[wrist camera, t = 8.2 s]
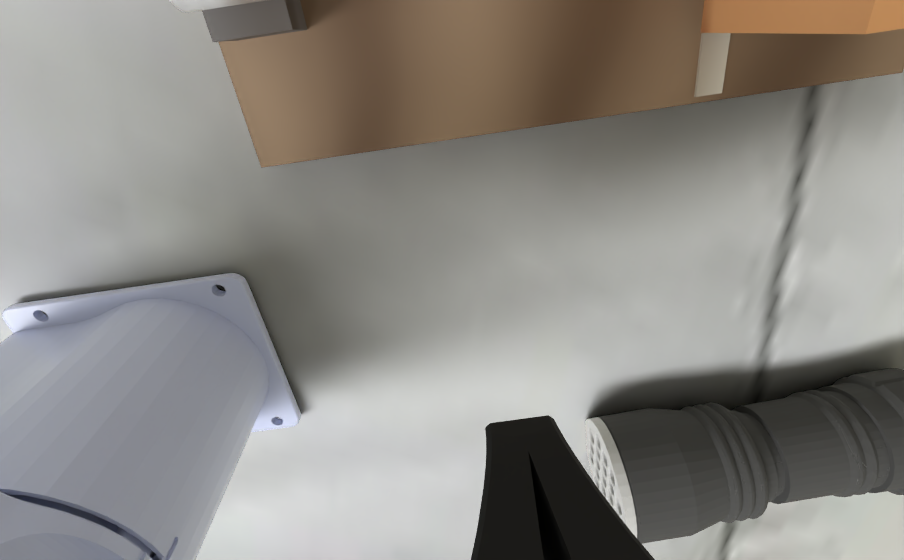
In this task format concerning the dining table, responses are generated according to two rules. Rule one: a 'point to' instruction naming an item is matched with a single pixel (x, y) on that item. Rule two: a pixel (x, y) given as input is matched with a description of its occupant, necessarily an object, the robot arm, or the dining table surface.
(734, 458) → the flashlight
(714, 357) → the dining table surface
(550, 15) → the pipe stand
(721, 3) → the collar
